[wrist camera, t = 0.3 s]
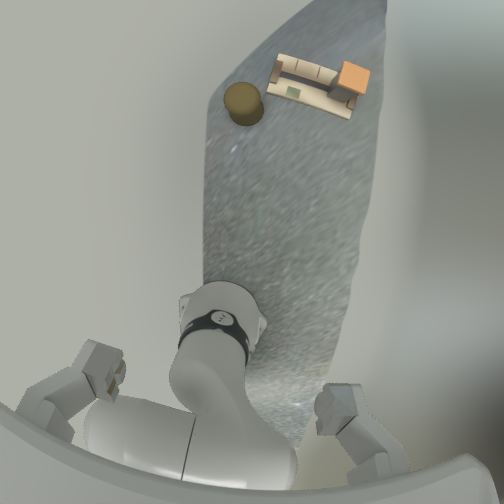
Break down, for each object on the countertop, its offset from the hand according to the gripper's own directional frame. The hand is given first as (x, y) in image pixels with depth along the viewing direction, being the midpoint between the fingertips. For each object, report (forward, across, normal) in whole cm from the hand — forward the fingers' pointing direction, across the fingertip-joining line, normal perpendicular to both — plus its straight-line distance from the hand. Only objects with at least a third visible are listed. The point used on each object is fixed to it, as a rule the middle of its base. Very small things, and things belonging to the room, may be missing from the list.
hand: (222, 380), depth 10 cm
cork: (+44, -3, +9) cm, 45 cm away
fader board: (+44, +8, +16) cm, 48 cm away
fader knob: (+42, +11, +16) cm, 47 cm away
